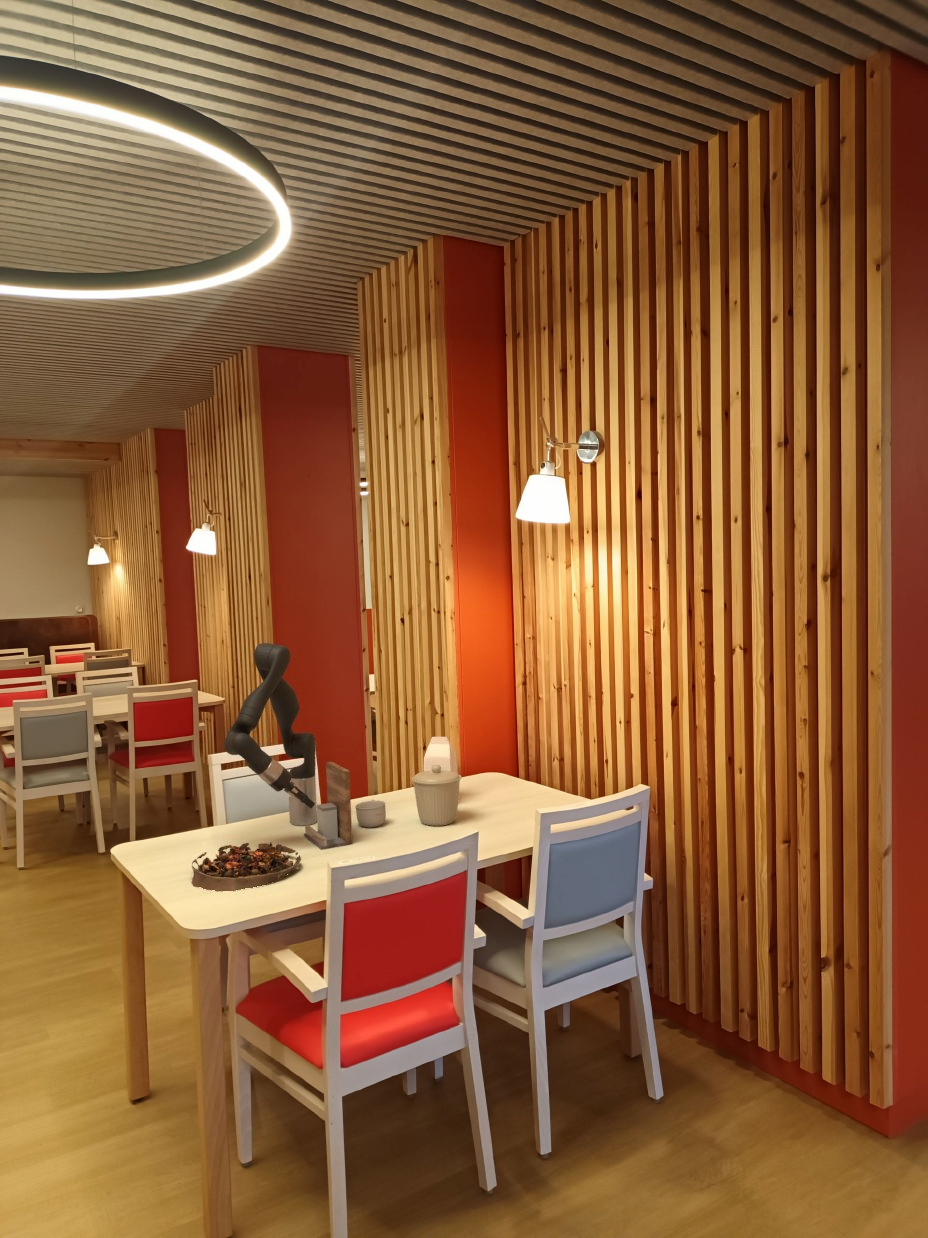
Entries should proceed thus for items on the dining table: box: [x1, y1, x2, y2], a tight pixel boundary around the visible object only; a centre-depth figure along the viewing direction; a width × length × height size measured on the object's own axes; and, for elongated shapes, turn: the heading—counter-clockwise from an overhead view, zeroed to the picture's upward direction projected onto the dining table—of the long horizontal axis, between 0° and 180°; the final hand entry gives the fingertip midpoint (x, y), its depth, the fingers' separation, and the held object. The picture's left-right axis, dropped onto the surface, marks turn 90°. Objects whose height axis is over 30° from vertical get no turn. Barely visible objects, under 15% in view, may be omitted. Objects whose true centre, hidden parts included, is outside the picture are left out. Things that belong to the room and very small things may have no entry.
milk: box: [423, 736, 461, 800], centre depth 358 cm, size 12×12×26 cm
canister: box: [411, 765, 462, 827], centre depth 329 cm, size 18×18×21 cm
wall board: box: [303, 761, 353, 851], centre depth 311 cm, size 11×18×25 cm, turn 28°
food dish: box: [190, 841, 302, 892], centre depth 281 cm, size 35×33×8 cm
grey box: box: [316, 802, 338, 840], centre depth 311 cm, size 5×6×11 cm
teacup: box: [354, 799, 387, 828], centre depth 330 cm, size 14×11×8 cm
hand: (309, 803), depth 308 cm, fingers open, 8 cm apart
